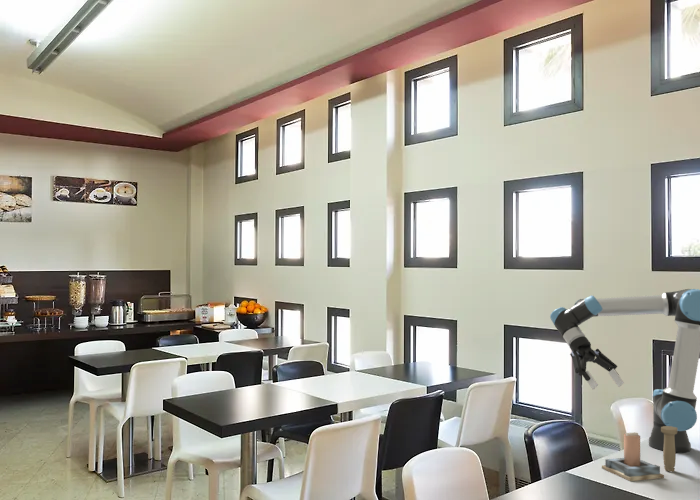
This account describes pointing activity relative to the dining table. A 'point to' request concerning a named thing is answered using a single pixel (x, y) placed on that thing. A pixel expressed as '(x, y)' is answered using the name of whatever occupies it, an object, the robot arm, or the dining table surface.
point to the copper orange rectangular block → (632, 449)
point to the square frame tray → (632, 470)
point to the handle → (669, 447)
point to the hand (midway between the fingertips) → (608, 386)
